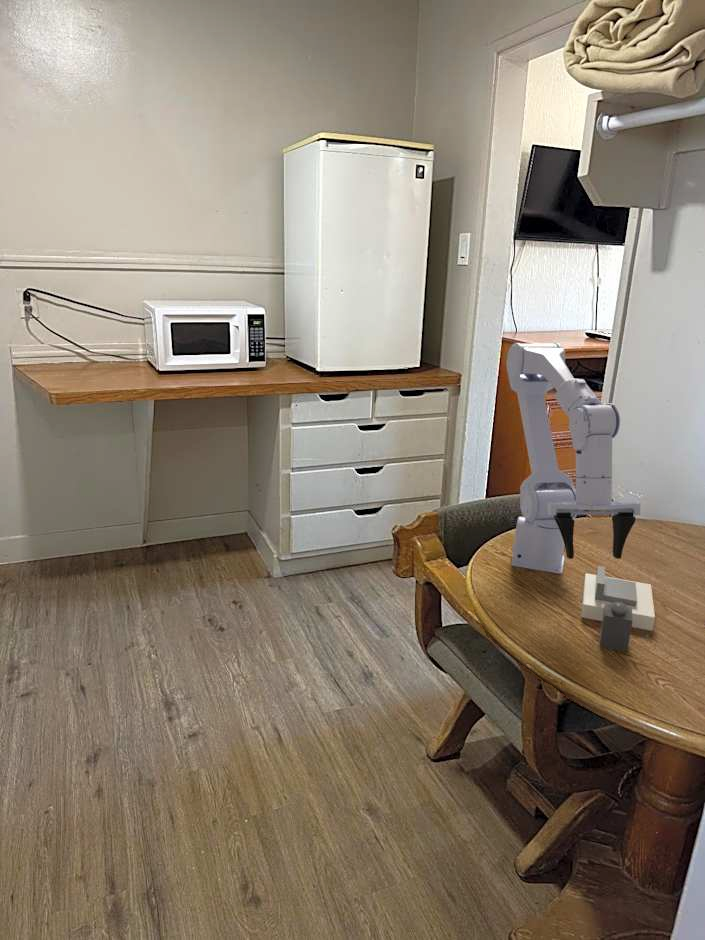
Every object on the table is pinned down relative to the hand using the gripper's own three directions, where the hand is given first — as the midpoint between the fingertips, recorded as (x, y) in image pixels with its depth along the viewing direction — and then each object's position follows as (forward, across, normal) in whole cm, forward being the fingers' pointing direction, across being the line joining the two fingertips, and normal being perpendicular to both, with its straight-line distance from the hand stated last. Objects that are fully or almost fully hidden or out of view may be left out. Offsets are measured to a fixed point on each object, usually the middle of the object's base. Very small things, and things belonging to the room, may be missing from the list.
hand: (593, 557), depth 113 cm
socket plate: (+9, +5, +3) cm, 11 cm away
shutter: (+7, +4, +2) cm, 8 cm away
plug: (+12, +1, -8) cm, 14 cm away
